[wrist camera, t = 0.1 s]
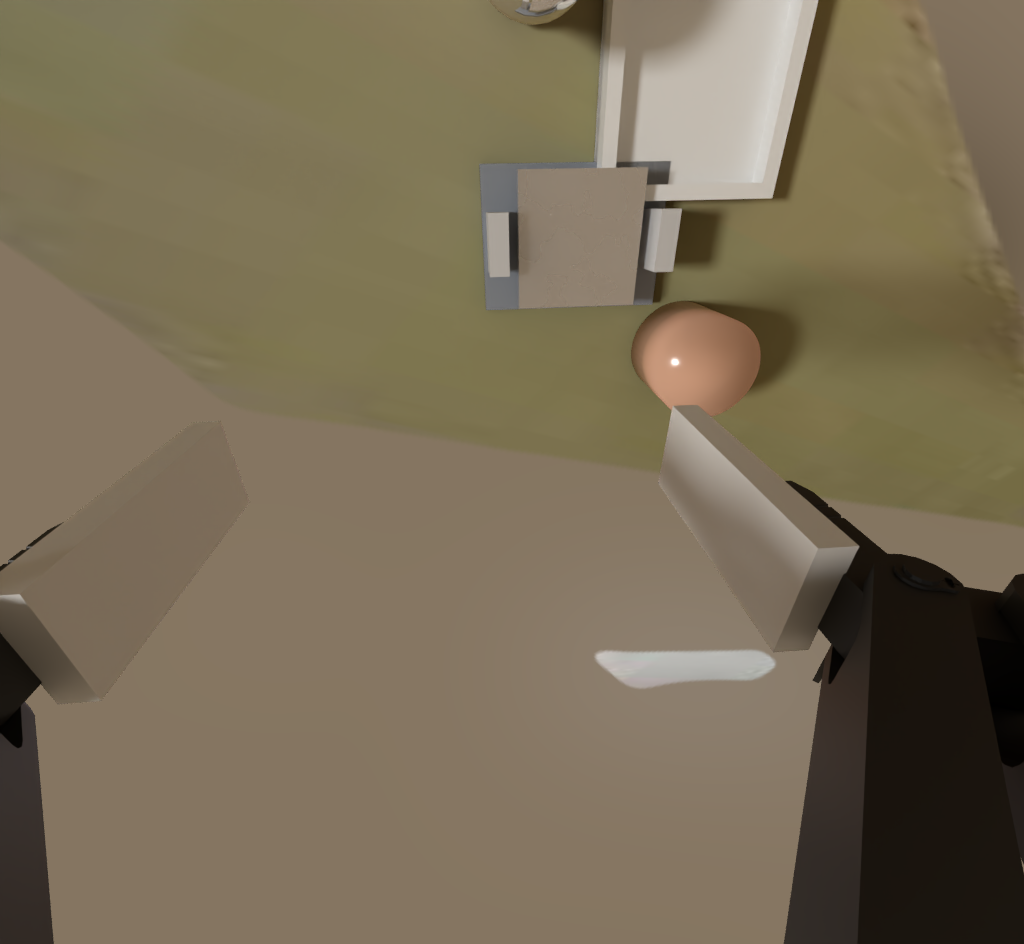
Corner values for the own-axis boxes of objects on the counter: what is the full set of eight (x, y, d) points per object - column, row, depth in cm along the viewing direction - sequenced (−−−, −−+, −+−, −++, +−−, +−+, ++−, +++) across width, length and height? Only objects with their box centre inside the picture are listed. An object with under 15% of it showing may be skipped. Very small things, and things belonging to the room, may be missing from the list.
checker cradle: (479, 165, 33) (480, 158, 29) (666, 162, 34) (694, 155, 30) (486, 307, 38) (488, 320, 34) (648, 302, 39) (670, 313, 35)
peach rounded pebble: (636, 302, 39) (667, 319, 33) (726, 299, 39) (773, 316, 33) (626, 390, 43) (652, 420, 37) (708, 387, 44) (746, 416, 37)
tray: (606, -40, 28) (617, -60, 26) (805, -38, 29) (831, -57, 27) (591, 202, 35) (599, 202, 33) (754, 198, 36) (772, 198, 34)
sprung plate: (516, 170, 31) (517, 169, 31) (643, 167, 32) (648, 167, 31) (518, 306, 36) (519, 308, 35) (629, 302, 36) (632, 304, 36)
